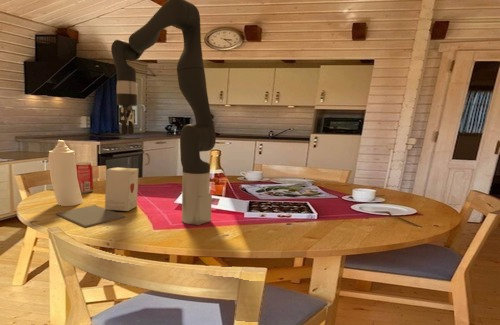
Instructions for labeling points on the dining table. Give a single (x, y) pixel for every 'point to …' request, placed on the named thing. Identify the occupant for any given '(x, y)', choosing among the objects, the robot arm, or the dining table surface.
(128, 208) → the supplement box
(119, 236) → the dining table surface
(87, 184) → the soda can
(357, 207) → the dining table surface
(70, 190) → the white bottle
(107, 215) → the mat
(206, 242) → the dining table surface
